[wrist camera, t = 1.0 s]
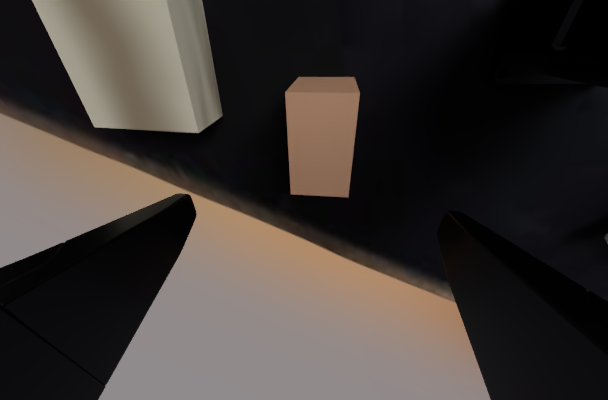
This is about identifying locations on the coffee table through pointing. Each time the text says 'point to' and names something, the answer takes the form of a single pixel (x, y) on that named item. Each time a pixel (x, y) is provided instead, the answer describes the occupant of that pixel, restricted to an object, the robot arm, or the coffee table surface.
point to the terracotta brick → (321, 134)
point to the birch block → (137, 61)
